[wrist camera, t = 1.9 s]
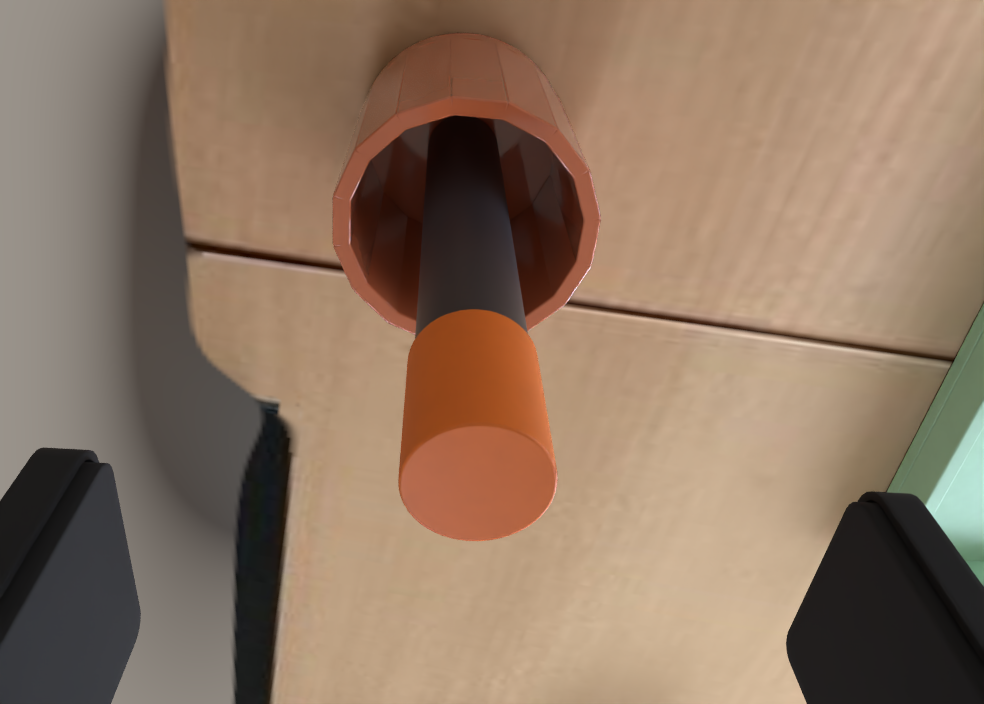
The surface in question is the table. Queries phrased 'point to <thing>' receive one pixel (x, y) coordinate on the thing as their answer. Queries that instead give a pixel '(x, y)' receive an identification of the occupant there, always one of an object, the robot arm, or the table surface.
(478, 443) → the marker
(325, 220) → the table surface
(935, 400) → the tray
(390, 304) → the pen cup
